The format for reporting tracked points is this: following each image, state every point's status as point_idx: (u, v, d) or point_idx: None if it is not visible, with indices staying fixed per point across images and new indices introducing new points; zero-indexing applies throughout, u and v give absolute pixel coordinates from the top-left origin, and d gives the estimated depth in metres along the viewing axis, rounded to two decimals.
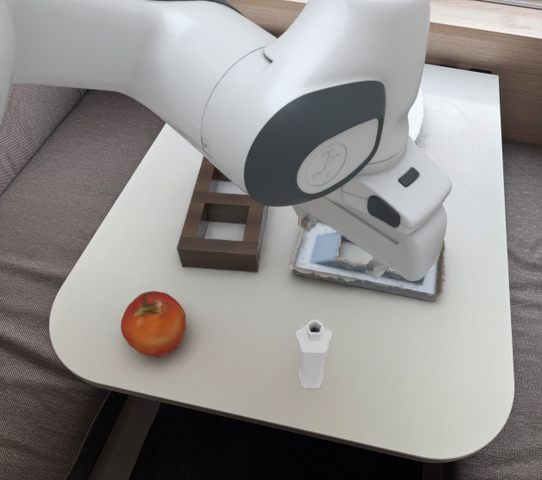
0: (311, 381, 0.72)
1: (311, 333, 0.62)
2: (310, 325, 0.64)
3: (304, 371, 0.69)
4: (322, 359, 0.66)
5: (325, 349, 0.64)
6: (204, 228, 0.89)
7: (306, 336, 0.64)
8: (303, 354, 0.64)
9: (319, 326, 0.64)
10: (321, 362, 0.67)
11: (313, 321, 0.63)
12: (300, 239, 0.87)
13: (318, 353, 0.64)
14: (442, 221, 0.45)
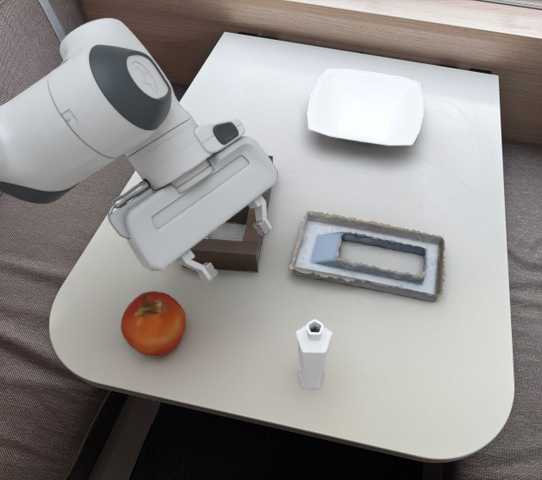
0: (311, 381, 0.72)
1: (311, 333, 0.62)
2: (310, 325, 0.64)
3: (304, 371, 0.69)
4: (322, 359, 0.66)
5: (325, 349, 0.64)
6: None
7: (306, 336, 0.64)
8: (303, 354, 0.64)
9: (319, 326, 0.64)
10: (321, 362, 0.67)
11: (313, 321, 0.63)
12: (300, 239, 0.87)
13: (318, 353, 0.64)
14: None
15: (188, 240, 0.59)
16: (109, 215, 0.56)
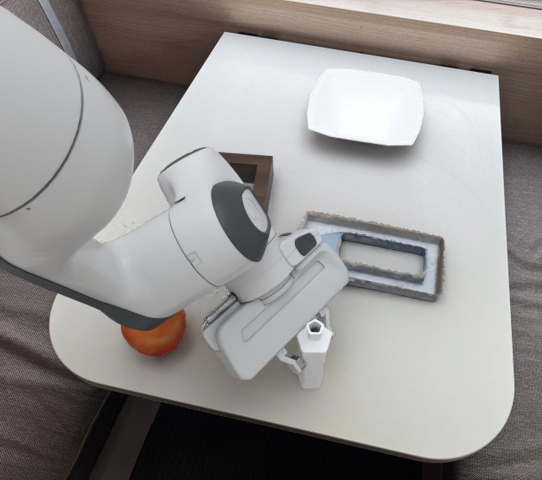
0: (311, 381, 0.72)
1: (311, 333, 0.62)
2: (310, 325, 0.64)
3: (304, 371, 0.69)
4: (322, 359, 0.66)
5: (325, 349, 0.64)
6: None
7: (306, 336, 0.64)
8: (303, 354, 0.64)
9: (319, 326, 0.64)
10: (321, 362, 0.67)
11: (313, 321, 0.63)
12: None
13: (318, 353, 0.64)
14: None
15: (272, 349, 0.62)
16: (202, 331, 0.59)
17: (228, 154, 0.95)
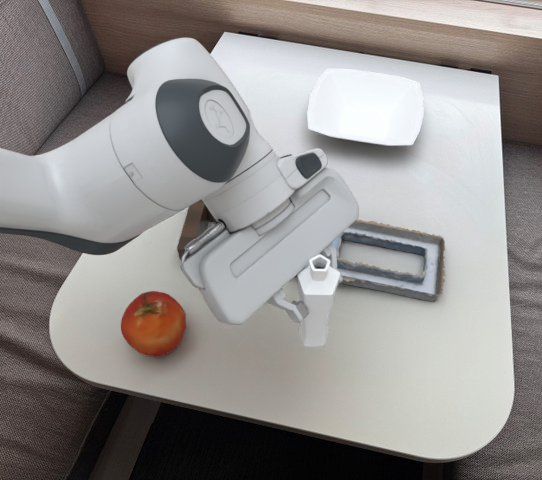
0: (314, 337, 0.62)
1: (315, 270, 0.52)
2: (314, 261, 0.53)
3: (306, 322, 0.59)
4: (328, 305, 0.55)
5: (332, 291, 0.53)
6: (204, 228, 0.89)
7: (309, 276, 0.54)
8: (305, 297, 0.54)
9: (325, 263, 0.53)
10: (327, 309, 0.56)
11: (318, 257, 0.53)
12: None
13: (323, 296, 0.54)
14: None
15: (268, 289, 0.52)
16: (183, 263, 0.48)
17: None
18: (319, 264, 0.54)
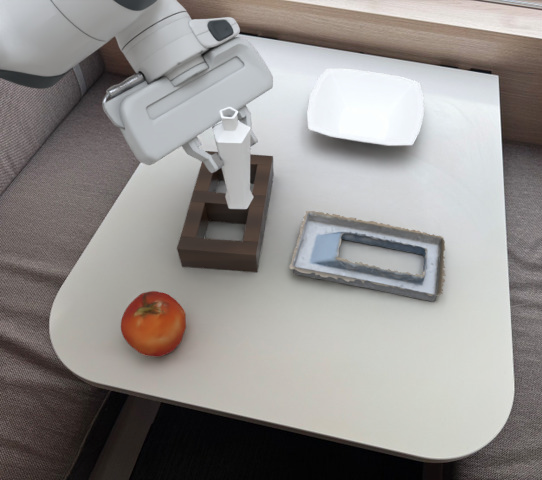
0: (236, 198, 0.69)
1: (224, 117, 0.59)
2: (224, 113, 0.60)
3: (226, 180, 0.66)
4: (240, 156, 0.63)
5: (241, 140, 0.61)
6: (204, 228, 0.89)
7: (221, 127, 0.61)
8: (218, 146, 0.61)
9: None
10: (240, 162, 0.64)
11: (227, 108, 0.60)
12: (300, 239, 0.87)
13: (234, 145, 0.61)
14: None
15: (183, 134, 0.59)
16: (104, 103, 0.56)
17: None
18: None
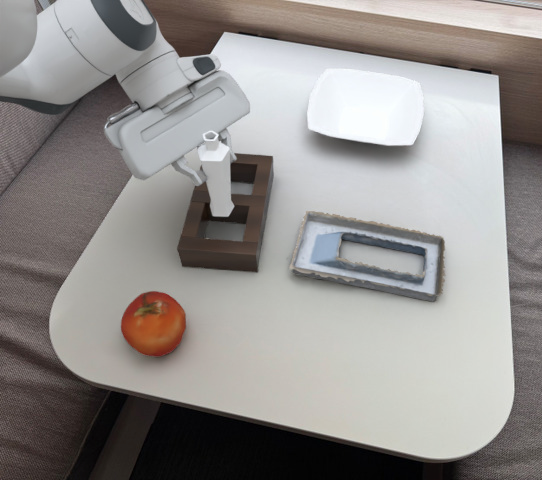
0: (219, 207, 0.80)
1: (206, 140, 0.70)
2: (207, 135, 0.71)
3: (209, 191, 0.77)
4: (221, 172, 0.74)
5: (221, 158, 0.72)
6: (204, 228, 0.89)
7: (205, 147, 0.72)
8: (202, 164, 0.72)
9: (215, 137, 0.72)
10: (221, 177, 0.75)
11: (210, 132, 0.71)
12: (300, 239, 0.87)
13: (215, 162, 0.72)
14: None
15: (172, 154, 0.70)
16: (105, 129, 0.67)
17: None
18: None
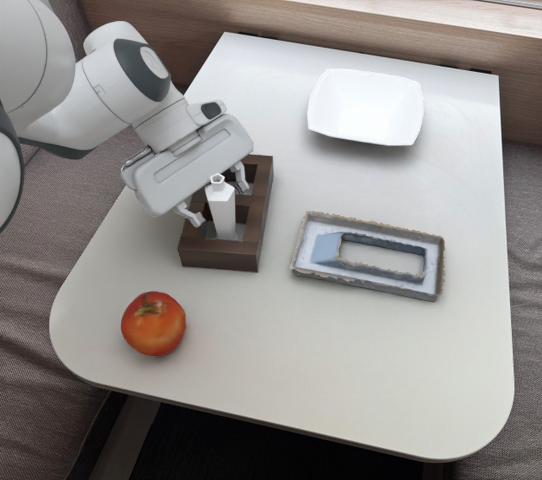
0: None
1: (213, 182, 0.77)
2: (214, 178, 0.78)
3: (216, 226, 0.84)
4: (226, 210, 0.80)
5: (227, 198, 0.78)
6: (204, 228, 0.89)
7: (212, 188, 0.79)
8: (209, 203, 0.79)
9: (221, 179, 0.78)
10: (227, 214, 0.81)
11: (216, 174, 0.78)
12: (300, 239, 0.87)
13: (221, 202, 0.79)
14: None
15: (182, 193, 0.76)
16: (121, 172, 0.73)
17: None
18: (219, 181, 0.79)
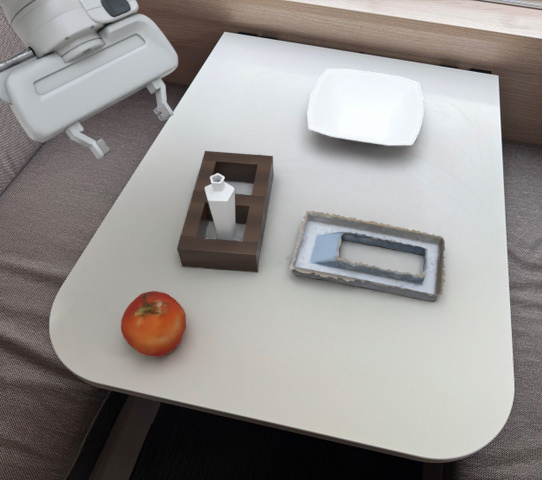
0: None
1: (213, 182, 0.77)
2: (214, 178, 0.78)
3: (216, 226, 0.84)
4: (226, 210, 0.80)
5: (227, 198, 0.78)
6: (204, 228, 0.89)
7: (212, 188, 0.79)
8: (209, 203, 0.79)
9: (221, 179, 0.78)
10: (227, 214, 0.81)
11: (216, 174, 0.78)
12: (300, 239, 0.87)
13: (221, 202, 0.79)
14: None
15: (75, 111, 0.58)
16: None
17: (228, 154, 0.95)
18: (219, 181, 0.79)
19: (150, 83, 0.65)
